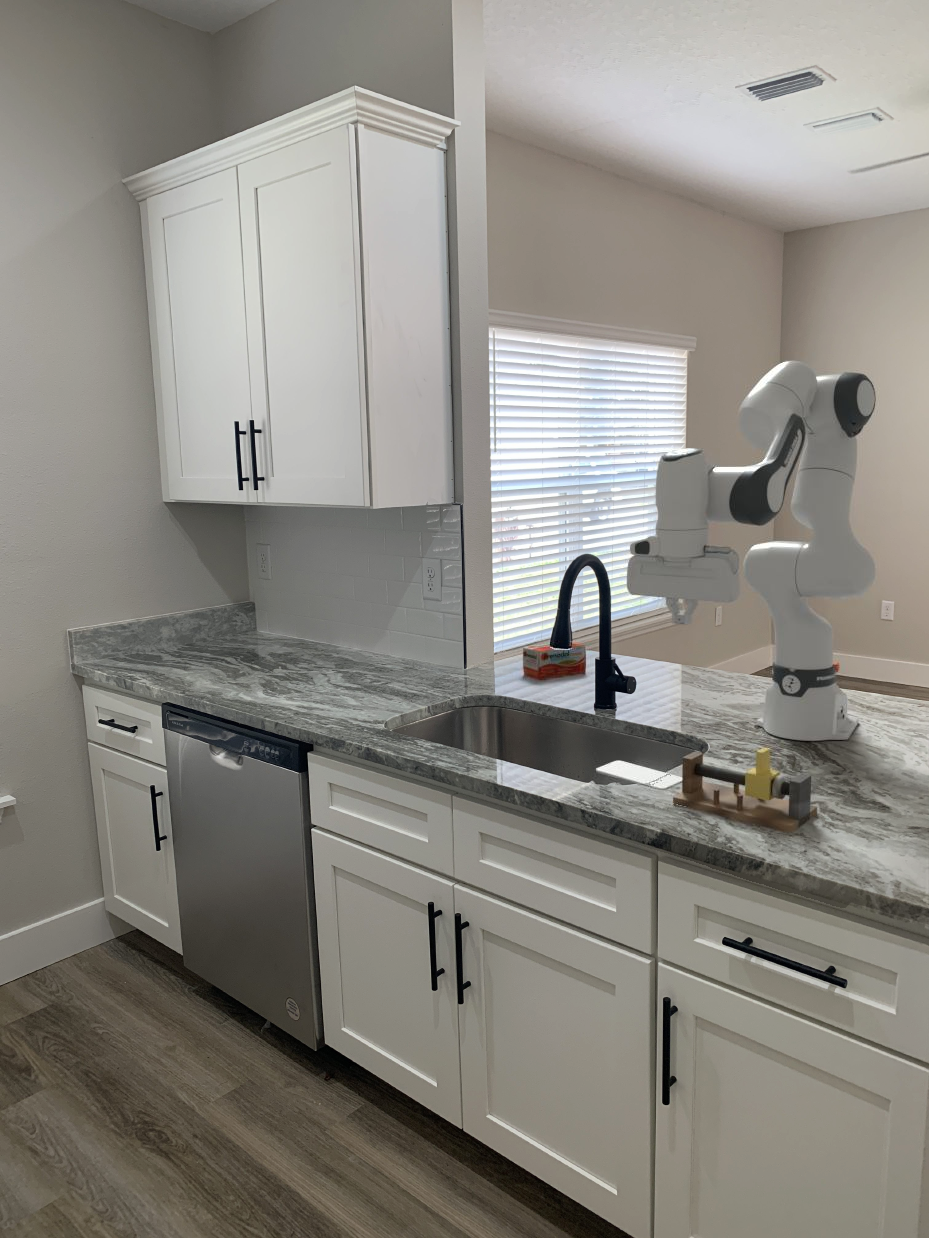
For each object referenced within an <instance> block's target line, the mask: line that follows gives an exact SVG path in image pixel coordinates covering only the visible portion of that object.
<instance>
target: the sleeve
mask: <svg viewBox="0 0 929 1238" xmlns="http://www.w3.org/2000/svg"><path fill="white" fill-rule="evenodd" d="M770 763H771V748H769V747H765V746H763V747H762V748H760V749H759V750H757V751H756V753H755V766H754V767H752V768H750V769H749V770H747V771H745V772H744V773H745V786H744V790H745V795H746V796H750V797H754V798H759V799H763V800H767V801H770V800H771V799H773V798H774V797H773V794H772V792H771V780H772V779H775V778H776V776H778V775H780V776H781V771H779V770H775V769H771V768H770V767H771V766H770V765H771V764H770Z"/></svg>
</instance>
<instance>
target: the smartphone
mask: <svg viewBox="0 0 929 1238" xmlns="http://www.w3.org/2000/svg"><path fill="white" fill-rule="evenodd" d="M595 772H596V773H598V774H602V775H605V776H609V777H612V778H616V779H619V780H623V781H627V782H631V783H635V784H638V785H642V784H645V783H649V782H651V781H653V780H656V779H658V778H660V777H662V776H664V775H666V774H670V775H671V776H670V775H667V776H666V777H663V778H661V779H659V780H658V781H655V782H651V783H650V784H651V787H650V788H652V787H656V788H660V789H665V788H667V787H670V786H672V785H674V786H676V785H678V784H681V783H682V776H679V775H675V774H672V773H669V772H668V773H667V772H664V771H661V770H657V769H653V768H649V767H645V766H642V765H638V764H634V763H632V762H631V763H630V762H627V761H623V760H614V761H611V762H609V763H606V764H604V765H601V766H598V767H596V768H595ZM660 780H662V781H660ZM656 782H658V783H656ZM680 782H681V783H680ZM654 783H655V784H654ZM677 783H678V784H677ZM652 784H654V785H652ZM675 784H676V785H675ZM642 786H643V785H642ZM672 787H673V786H672ZM656 788H655V789H656ZM670 788H671V787H670ZM660 789H659V790H660ZM667 789H668V788H667ZM665 790H666V789H665Z"/></svg>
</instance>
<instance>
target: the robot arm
mask: <svg viewBox="0 0 929 1238" xmlns="http://www.w3.org/2000/svg"><path fill="white" fill-rule="evenodd" d="M876 398H877V397H876V390H875V387H874V385H873V382H872V381H871V380H870V378H869V377H868V376H867V375H866V374H864V373H860V372H852V371H851V372H843V373H842V374H841V373H836V374H835V373H834V374H833V373H831V374H824V375H823V374H822V375H816V374H815V371H814V370H813V369H812V368H811V367H810V366H809V365H808V364H806V363H804V362H801V361H798V360H786V361H784V362H781V363H779V364H777V365H776V366H775V367H773V368H772V369H770V371H768V372H767V373H766V374H765V375H764V376H763V377H761V379H760V380H759V381H758V382H757V383H756V384H755V385H754V387H752V389H751V390H750V391H749V393H748V394H747V395H746V397H745V398H744V399H743V400H742V403H741V405H740V407H739V408H738V412H737V424H738V427H739V431H740V432H741V434H742V436H743V438H744V439H746V441H747V442H748V443H749V444H751V445H752V446H754V448H757V449H758V450H762V451H767V452H766V454H765V456H764V458H763V459H762V461H761V462H759V463H756V464H751V465H746V466H716V465H715V464H712V463H711V462H709V461H708V460H707V458H706V452H705V451H704V450H703V449H701V448H698V447H697V448H696V447H692V448H691V447H688V448H681V449H674V450H670V451H668V452H666V453H664V454H663V455H662V456H660V459H659V461H658V466H657V471H656V477H655V478H656V480H655V506H656V509H657V521H656V524H655V535H650V536H647V538H644V539H641V540H637V541H633V542H631V543H630V545H629V552H630V555H631V557H630V558H629V559H628V563H627V568H626V569H627V571H626V589H627V591H628V592H629V594H630V595H632V596H642V597H643V596H644V597H654V598H655V597H656V598H665V605H666V607H667V609H668V611H669V612H670V614H671V623H672V624H674V625H675V624H677V625H685V626H686V625H687V626H688V625H691V624H692V621H693V620H692V617H693V613H694V612H695V610H696V609H697V606H698V604H699V601H700V602H701V601H702V602H703V601H704V602H713V603H714V602H715V603H725V604H728V603H732V602H736V600H737V599H738V598H739V597H740V595H741V585H740V576H739V575H740V573H739V569H740V556H739V554H738V553H737V552H736V551H735V550H734V549H732V548H731V547H730V546H715V545H709V523H708V522H716V523H730V524H731V523H733V524H734V523H737V524H739V523H740V524H744V525H750V526H751V525H752V526H757V527H759V526H765V525H766V524H768V523H769V522H771V521H772V520H773V519H774V518H776V516H777V515H778V514H779V513H780V511H781V509H782V507H783V506H784V505H783V504H784V501H785V495H786V490H787V486H788V484H789V482H790V479H791V477H792V475H793V472H794V470H795V467H796V465H797V463H798V461H799V458H800V461H799V465H798V467H797V468H798V469H797V472H796V477H795V482H794V486H793V487H794V488H793V493H792V497H791V502H790V512H791V514H792V516H793V517H794V519H795V520H796V521H797V522H798V523H800V524H801V525H803V526H804V527H806V528H808V529H809V530H812V535H811V539H810V541H789V540H787V541H786V540H774V541H766V542H762V543H757V544H754V545H753V546H751V548H750V549H749V550H748V551H747V553H746V554H745V556H744V558H743V563H742V573H743V578H744V580H745V582H746V583H747V585H748V586H749V588H750V589H752V590H753V591H754V592H755V593H756V594H757V595H758V596H759V597H760V598H761V599H762V601H763V602H764V604H765V605H766V607H767V609H768V611H769V614H770V615H771V620H772V623H773V628H774V650H775V651H774V652H775V653H774V656H775V657H774V662H773V663H772V668H771V674H772V675H771V676H772V677H771V679H772V680H771V681H772V683H771V684H769V685H768V686H767V687H766V689H765V697H764V704H763V716H762V717H760V718H758V719H756V721H757V722H756V724H757V726H759V727H761V728H763V729H764V731H765V732H767V734H770V735H772V736H775V737H778V738H783V739H788V740H796V741H809V742H810V741H811V742H812V741H813V742H815V741H817V742H818V741H829V740H837V741H839V740H840V741H841V740H842V741H843V740H844V741H845V740H848V739H849V738H850V737H851V735H852V734H853V732H854V730H856V727H857V726H858V724H859V717H857V716H854V715H851V714H849V713H848V697H847V694H846V693H844V691H842V689H841V688H840V687H839V685H838V684H837V683H836V682H837V673H839V671H840V666H841V665H840V663H839V662H834V640H835V638H834V637H835V632H834V628H833V626H832V624H830V622H829V621H828V620H827V619H826V618H825V617H822V616H821V615H819V614H818V613H816V612H815V611H814V610H813V609H812V607H811V606H810V604H809V602H808V598H817V599H829V600H842V599H845V600H846V599H853V598H860V597H862V596H864V595H865V594H867V592H868V591H869V590H870V588H871V587H872V585H873V583H874V580H875V578H876V564H875V563H876V562H875V561H874V557H873V556H872V555H871V553H870V552H869V551H868V550H867V548H865V547H864V546H863V545H862V544H861V543H860V542H859V541H858V540H857V538H856V536H855V535H854V532H853V531H852V527H851V523H850V521H851V520H850V512H851V511H850V510H851V502H852V496H853V489H854V484H855V479H856V474H857V473H856V472H857V461H858V441H857V436H858V435H859V434H860V433H861V432H862V431H863V428H864V427H865V425H867V423H868V422H869V420H870V419H871V417H872V415H873V413H874V411H875V407H876V402H877V401H876ZM806 438H807V442H806V443H805V441H806ZM804 445H805V446H804ZM803 448H804V449H803ZM802 450H803V452H802ZM800 456H801V457H800ZM680 600H684V606H687V608H686V609H685V611H684V612H681V611H680V609H679V607H678V605H677V604H678V603H679V601H680Z"/></svg>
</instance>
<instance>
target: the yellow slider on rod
mask: <svg viewBox="0 0 929 1238" xmlns="http://www.w3.org/2000/svg"><path fill="white" fill-rule="evenodd" d="M681 767H682V771H681V773H682V776H681V777H682V782H681V787H682V788H681V790H682V791H681V792H680V793H678V794H676V795H674V796H672V804H673V803H674V804H673V805H675V804H678V805H677V806H679V805H682V806H681V807H683V806H686V807H685V808H687V807H689V808H688V809H691V808H693V809H692V810H695V809H697V810H696V811H699V810H700V811H699V812H704V813H708V814H711V815H715V816H718V817H719V816H720V817H724V818H727V819H732V820H736V821H740V822H745V823H746V824H747V823H748V824H752V825H755V826H759V827H763V828H768V829H771V830H776V831H779V832H784V833H787V834H792V833H794V832H795V831H797V829H799V828H800V827H802V826H803V825H804V824H806V823H807V822H808V821H809V820H811V819H812V818H814V817H815V816H817V815H818V806H814V805H811V802H812V801H811V798H812V797H811V796H812V795H811V793H812V774H806V773H799V774H798V775H796V776H794V777H793V778H791V779H790V780H788V777H787V776H785V775H781V774H780V775H778V776H776V778H775V779H772V780H771V792H772V794H773V797H774V798H773V799H771V800H770V801H767V800H763V799H759V798H754V797H750V796H746V795H745V789H744V790H743V789H740V786H742V787H743V786H744V787H745V772H740V771H736V770H731V769H727V768H722V767H718V766H713V765H709V764H704V754H703V752H702V753H701V752H698V751H693V752H691V753H689V754H687V755H685V756H683V757H682V766H681ZM703 778H708V779H713V780H716V781H717V780H718V781H720V782H725V783H729V784H733V787H732V786H727V785H722V784H717V783H714V782H710V781H704V780H703ZM786 796H788V797H789V798H788V799H785V797H786Z"/></svg>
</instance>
